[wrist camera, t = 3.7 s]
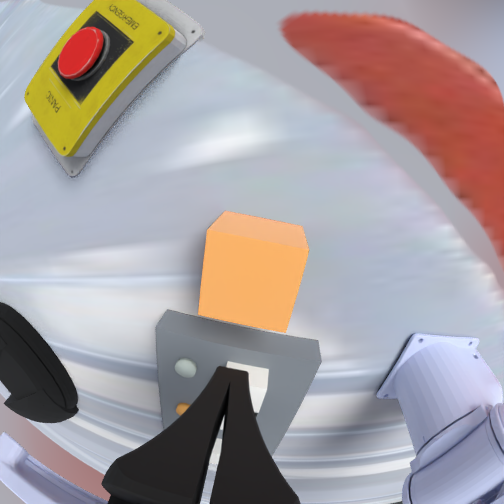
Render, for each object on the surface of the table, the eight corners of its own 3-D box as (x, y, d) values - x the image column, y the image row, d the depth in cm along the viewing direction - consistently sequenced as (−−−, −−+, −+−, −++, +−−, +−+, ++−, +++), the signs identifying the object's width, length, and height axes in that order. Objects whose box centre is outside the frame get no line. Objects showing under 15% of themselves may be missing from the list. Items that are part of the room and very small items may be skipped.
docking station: (114, 410, 28) (100, 436, 24) (36, 419, 39) (27, 432, 34) (-2, 261, 22) (-28, 276, 18) (-28, 339, 33) (-40, 349, 28)
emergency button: (192, 6, 10) (40, 190, 14) (211, 34, 14) (78, 181, 18) (117, -37, 8) (0, 117, 12) (142, -14, 12) (34, 116, 16)
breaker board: (318, 340, 20) (324, 381, 16) (268, 446, 26) (266, 476, 22) (167, 309, 20) (144, 343, 16) (171, 426, 27) (160, 454, 23)
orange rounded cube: (302, 226, 17) (309, 249, 13) (285, 294, 19) (285, 332, 15) (225, 210, 17) (207, 229, 13) (215, 280, 19) (198, 314, 15)
